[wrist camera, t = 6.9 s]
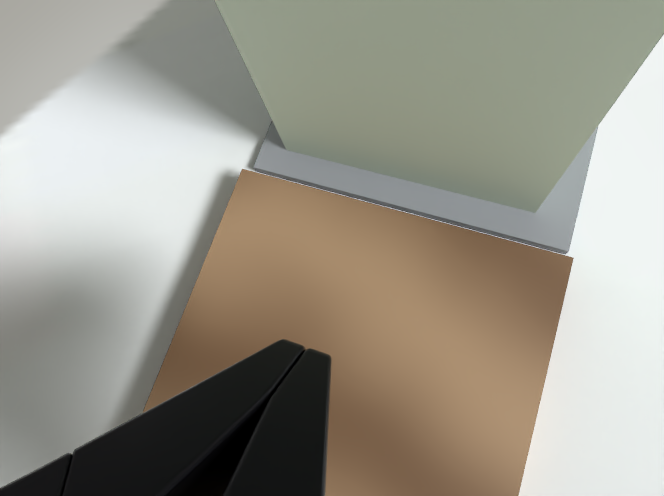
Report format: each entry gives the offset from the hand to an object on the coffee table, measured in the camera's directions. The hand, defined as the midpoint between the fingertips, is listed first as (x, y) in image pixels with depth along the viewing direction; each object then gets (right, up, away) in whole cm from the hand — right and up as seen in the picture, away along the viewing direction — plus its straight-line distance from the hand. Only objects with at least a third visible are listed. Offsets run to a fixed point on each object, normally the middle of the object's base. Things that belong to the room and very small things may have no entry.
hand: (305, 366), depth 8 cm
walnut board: (0, -3, +6) cm, 7 cm away
